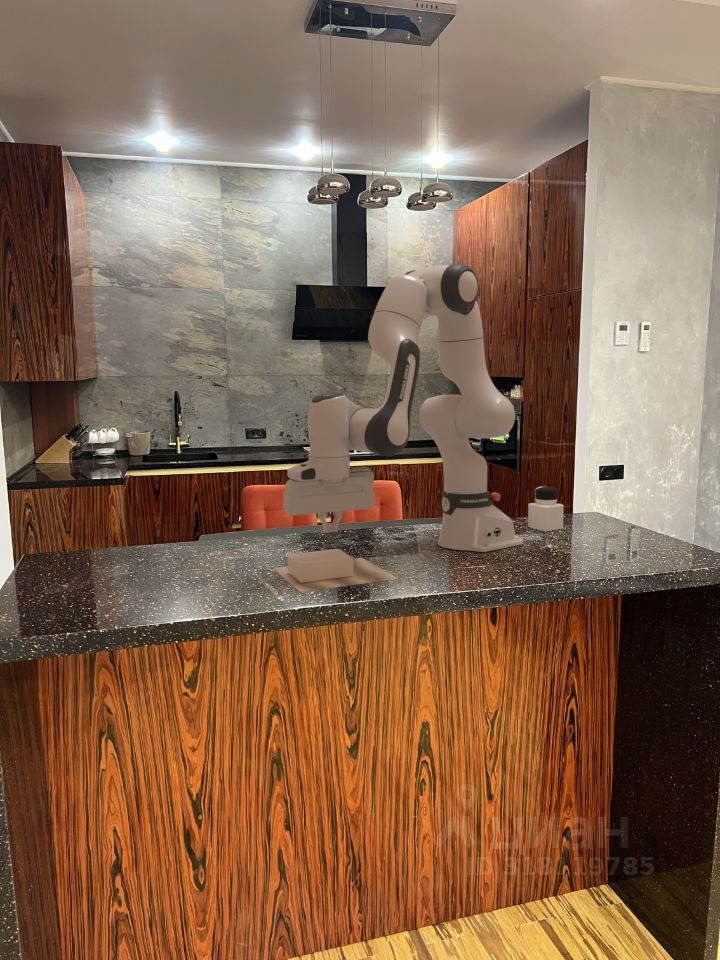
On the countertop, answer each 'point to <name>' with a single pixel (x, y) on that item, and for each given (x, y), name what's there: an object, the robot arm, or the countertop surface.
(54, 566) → the countertop surface
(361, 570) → the cloth
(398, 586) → the countertop surface
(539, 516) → the medicine bottle
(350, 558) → the block
